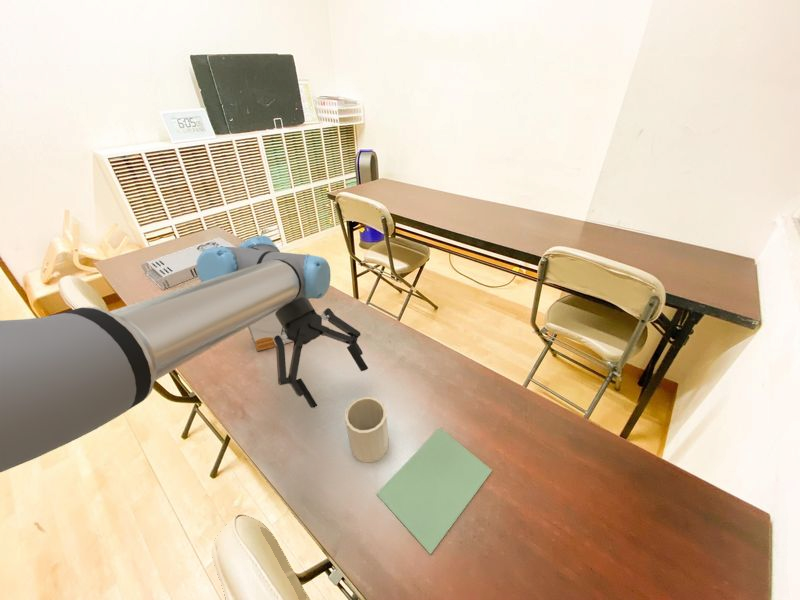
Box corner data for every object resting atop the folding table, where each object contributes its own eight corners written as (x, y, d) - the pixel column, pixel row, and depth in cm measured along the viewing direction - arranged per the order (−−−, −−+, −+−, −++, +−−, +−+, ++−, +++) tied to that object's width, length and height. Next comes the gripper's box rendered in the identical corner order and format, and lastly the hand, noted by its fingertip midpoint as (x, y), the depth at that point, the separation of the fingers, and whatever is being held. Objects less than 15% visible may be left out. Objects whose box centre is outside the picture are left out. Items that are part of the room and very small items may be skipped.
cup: (367, 471, 68) (363, 441, 61) (343, 444, 73) (336, 414, 66) (395, 443, 73) (394, 413, 66) (371, 420, 77) (367, 390, 71)
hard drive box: (256, 352, 97) (235, 299, 85) (255, 337, 102) (235, 284, 90) (308, 337, 102) (295, 285, 90) (304, 323, 107) (291, 272, 95)
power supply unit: (146, 274, 135) (140, 264, 132) (223, 246, 155) (219, 236, 152) (162, 290, 125) (156, 279, 122) (242, 258, 145) (239, 248, 142)
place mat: (430, 555, 56) (430, 554, 56) (376, 494, 64) (376, 493, 64) (492, 471, 67) (492, 470, 67) (439, 428, 75) (440, 427, 75)
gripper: (331, 285, 80) (376, 358, 80) (231, 335, 65) (285, 424, 66) (342, 275, 74) (390, 354, 74) (233, 327, 59) (293, 425, 60)
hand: (341, 387), depth 70 cm, fingers open, 13 cm apart
